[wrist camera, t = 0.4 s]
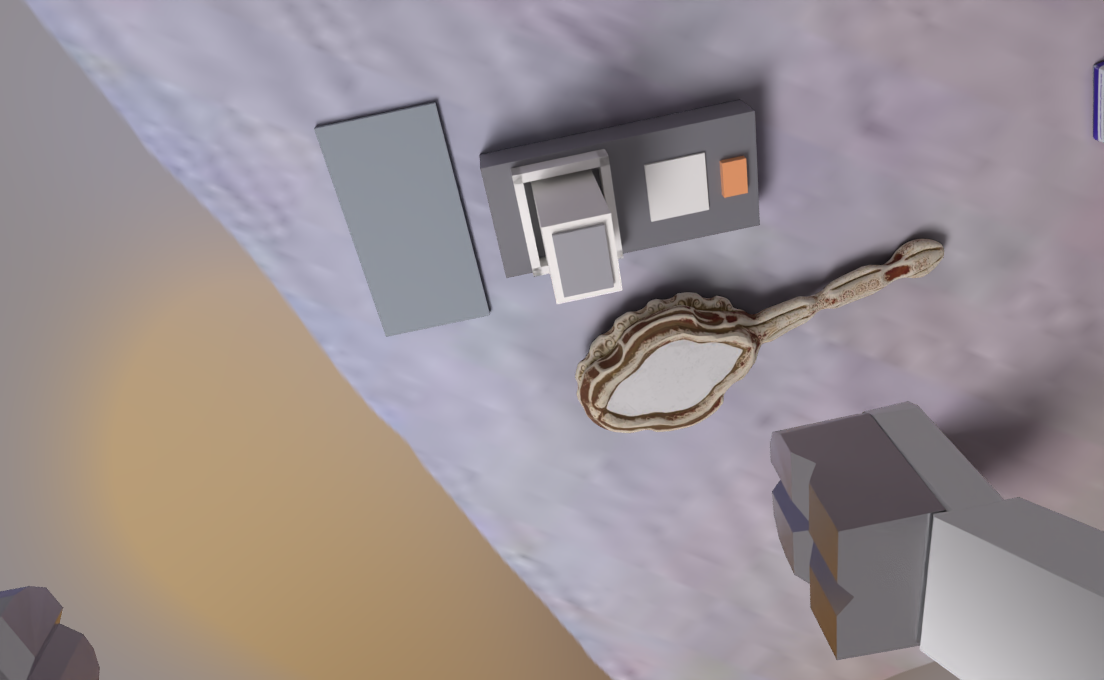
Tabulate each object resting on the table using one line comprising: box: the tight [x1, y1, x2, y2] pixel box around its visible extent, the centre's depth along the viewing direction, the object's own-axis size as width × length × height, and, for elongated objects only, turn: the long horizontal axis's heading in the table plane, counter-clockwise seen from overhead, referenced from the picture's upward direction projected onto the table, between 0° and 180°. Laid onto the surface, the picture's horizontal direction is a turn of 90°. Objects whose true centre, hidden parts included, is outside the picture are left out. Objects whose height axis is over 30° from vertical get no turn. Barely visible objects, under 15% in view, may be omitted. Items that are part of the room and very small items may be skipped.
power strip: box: [480, 100, 760, 278], centre depth 52 cm, size 8×18×4 cm, turn 100°
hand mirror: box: [575, 239, 944, 433], centre depth 59 cm, size 11×6×30 cm
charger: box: [531, 169, 623, 304], centre depth 48 cm, size 5×4×8 cm
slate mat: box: [314, 102, 490, 337], centre depth 54 cm, size 16×8×1 cm, turn 10°
